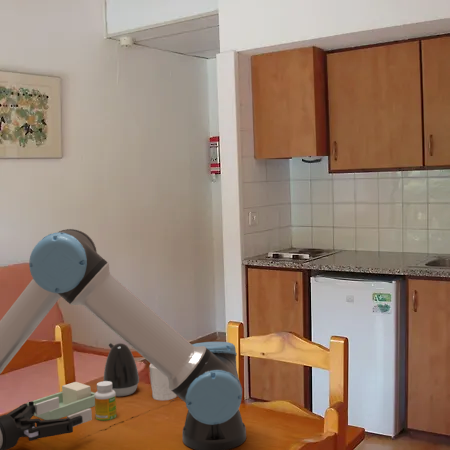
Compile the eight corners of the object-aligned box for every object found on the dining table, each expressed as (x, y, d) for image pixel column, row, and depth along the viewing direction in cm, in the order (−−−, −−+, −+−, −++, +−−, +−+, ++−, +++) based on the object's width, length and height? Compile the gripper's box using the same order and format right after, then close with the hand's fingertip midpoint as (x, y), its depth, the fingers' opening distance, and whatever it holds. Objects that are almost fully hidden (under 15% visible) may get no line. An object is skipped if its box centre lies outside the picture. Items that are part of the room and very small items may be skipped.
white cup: (145, 399, 179) (143, 365, 179) (166, 392, 185) (164, 358, 184) (163, 405, 174) (162, 370, 173) (184, 397, 180) (183, 363, 179)
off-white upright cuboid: (91, 404, 175) (90, 386, 175) (77, 408, 172) (76, 390, 171) (76, 398, 180) (75, 381, 179) (62, 403, 176) (61, 385, 176)
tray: (100, 406, 175) (99, 394, 175) (50, 424, 163) (49, 411, 163) (76, 398, 182) (76, 386, 182) (27, 415, 170) (26, 402, 170)
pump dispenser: (126, 386, 192) (124, 337, 191) (146, 394, 184) (144, 342, 183) (97, 395, 185) (94, 343, 184) (116, 403, 177) (114, 350, 176)
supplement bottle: (112, 424, 162) (110, 387, 161) (92, 423, 163) (90, 386, 163) (119, 416, 167) (118, 380, 167) (100, 415, 169) (98, 379, 168)
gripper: (-31, 438, 150) (46, 411, 166) (25, 467, 134) (106, 434, 150) (-34, 407, 150) (45, 383, 166) (23, 432, 133) (104, 403, 149)
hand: (74, 407), depth 158 cm, fingers open, 13 cm apart
